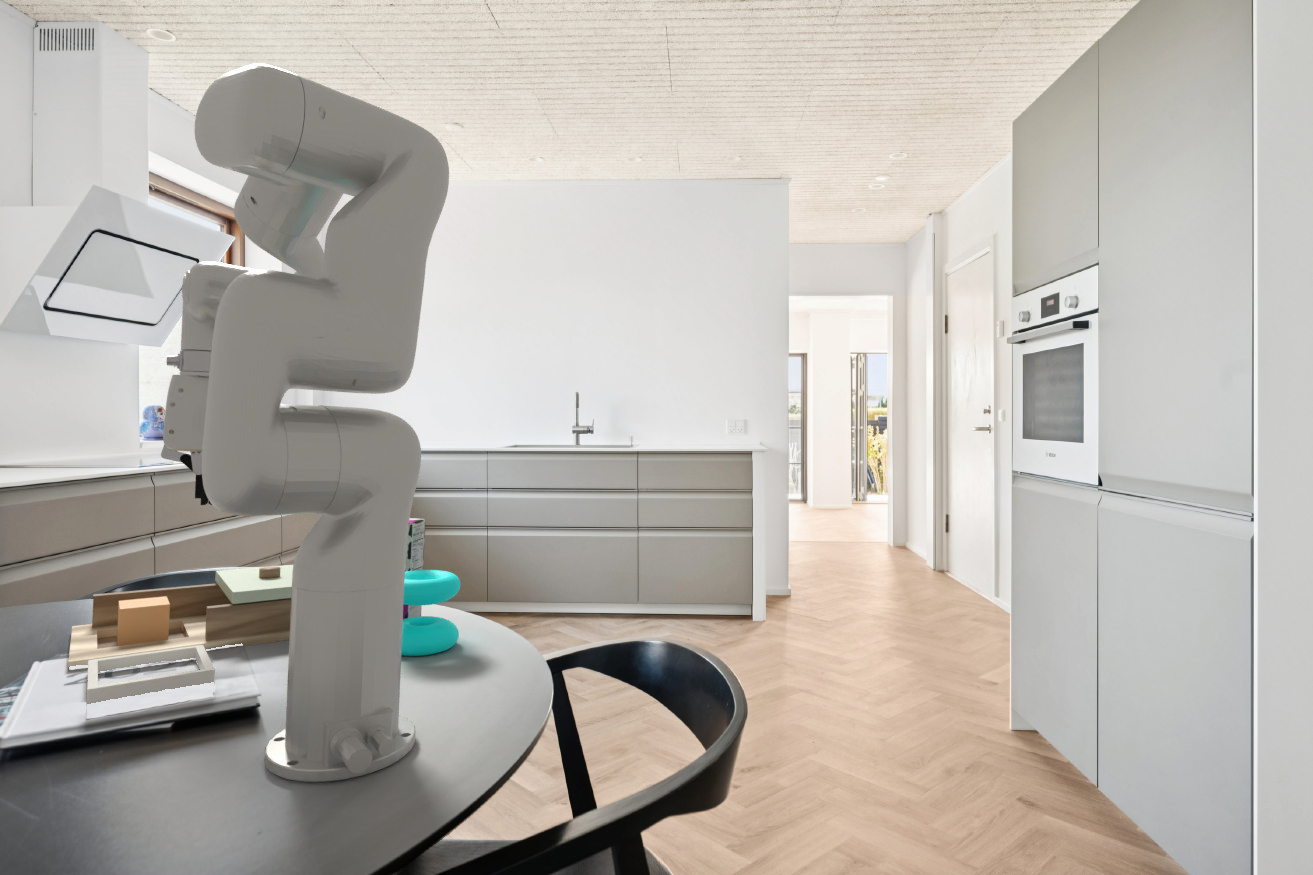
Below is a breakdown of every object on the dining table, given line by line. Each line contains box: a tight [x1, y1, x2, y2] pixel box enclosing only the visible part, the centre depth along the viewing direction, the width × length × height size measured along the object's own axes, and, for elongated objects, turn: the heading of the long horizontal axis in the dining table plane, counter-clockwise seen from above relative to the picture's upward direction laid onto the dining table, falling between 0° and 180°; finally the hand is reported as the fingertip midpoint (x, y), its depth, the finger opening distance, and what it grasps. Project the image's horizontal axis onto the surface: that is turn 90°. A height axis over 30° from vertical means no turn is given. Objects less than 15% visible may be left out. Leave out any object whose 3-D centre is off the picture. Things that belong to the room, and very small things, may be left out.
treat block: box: [117, 596, 170, 646], centre depth 86 cm, size 5×5×5 cm
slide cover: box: [214, 564, 293, 604], centre depth 95 cm, size 16×11×3 cm
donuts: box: [401, 569, 461, 657], centre depth 93 cm, size 10×10×10 cm
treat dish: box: [86, 645, 216, 705], centre depth 74 cm, size 11×11×3 cm
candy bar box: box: [403, 517, 426, 619], centre depth 103 cm, size 11×5×16 cm, turn 84°
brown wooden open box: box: [67, 583, 291, 668], centre depth 90 cm, size 17×27×7 cm, turn 130°
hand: (208, 503), depth 91 cm, fingers closed
